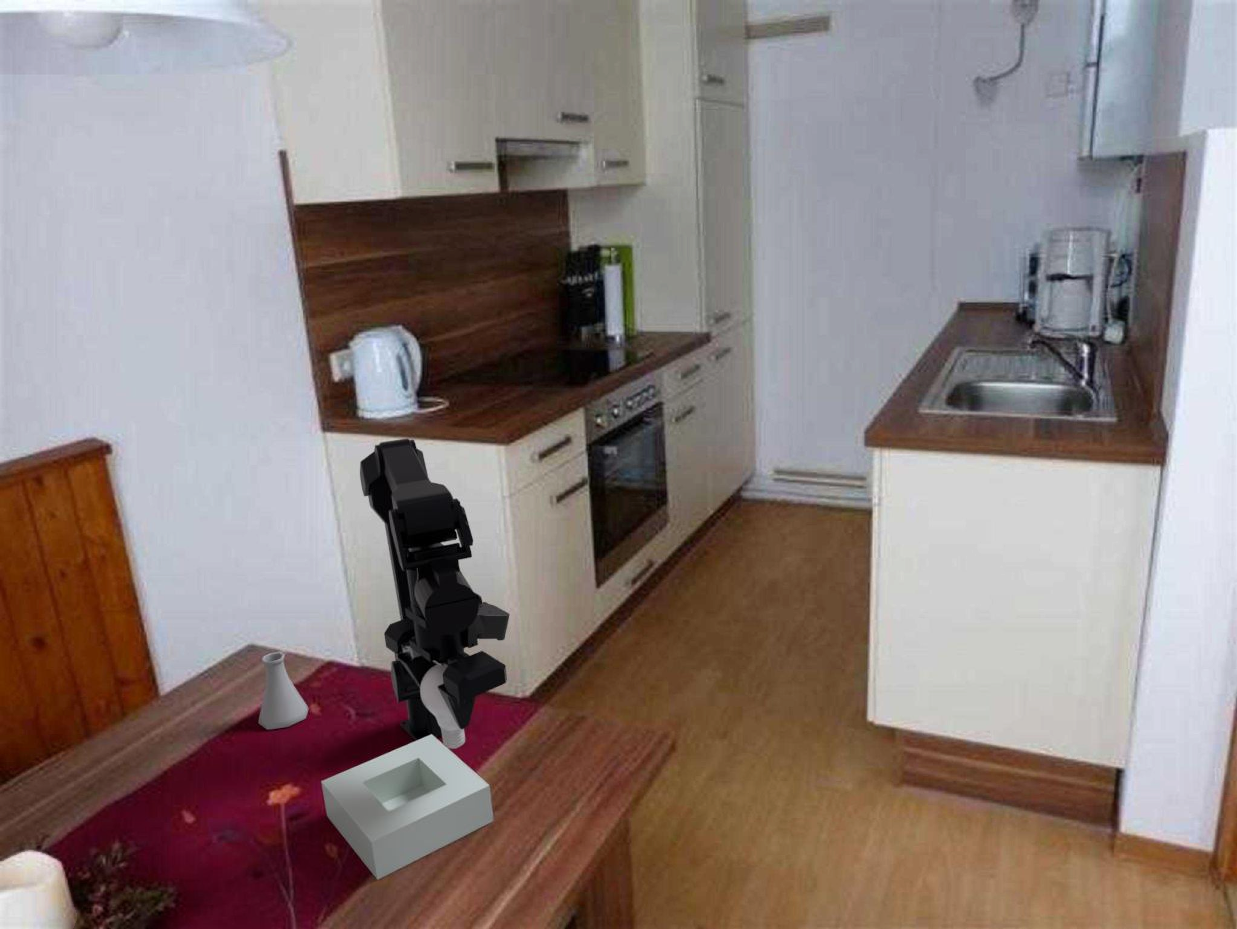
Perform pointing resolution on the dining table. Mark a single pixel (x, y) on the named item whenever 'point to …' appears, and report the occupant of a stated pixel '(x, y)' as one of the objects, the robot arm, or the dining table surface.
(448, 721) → the lightbulb
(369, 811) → the socket block
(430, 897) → the dining table surface
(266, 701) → the flask
